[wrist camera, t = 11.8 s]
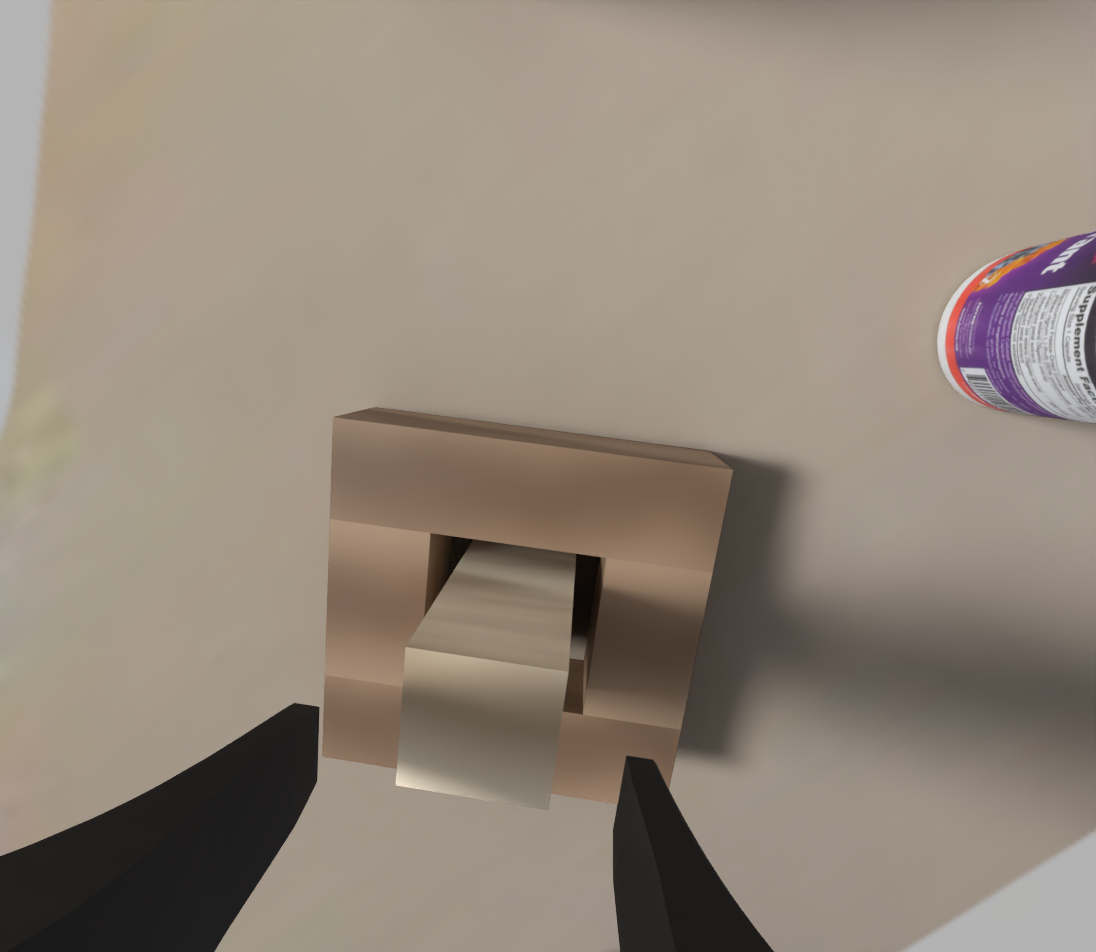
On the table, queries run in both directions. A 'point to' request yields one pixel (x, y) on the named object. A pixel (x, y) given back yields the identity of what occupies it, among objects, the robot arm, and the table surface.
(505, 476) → the socket block
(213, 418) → the table surface
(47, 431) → the table surface
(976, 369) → the pill bottle
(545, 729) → the peg
